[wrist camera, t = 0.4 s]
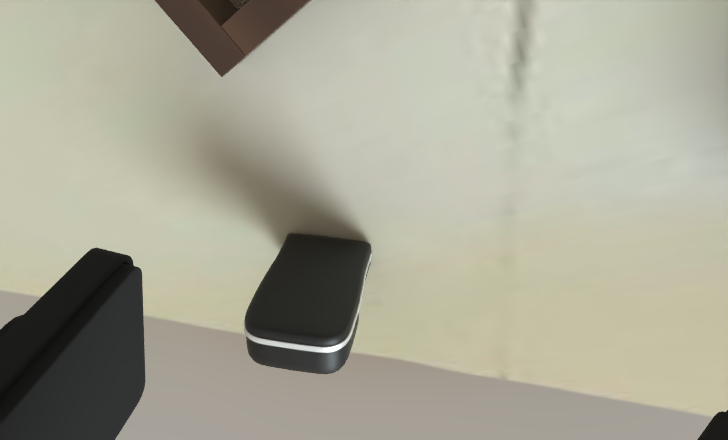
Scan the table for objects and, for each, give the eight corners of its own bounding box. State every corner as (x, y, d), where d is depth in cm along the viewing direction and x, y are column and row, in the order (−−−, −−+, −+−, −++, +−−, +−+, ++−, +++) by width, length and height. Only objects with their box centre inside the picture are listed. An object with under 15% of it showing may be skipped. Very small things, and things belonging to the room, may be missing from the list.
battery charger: (286, 270, 48) (237, 372, 38) (285, 229, 46) (233, 327, 36) (373, 281, 47) (345, 389, 37) (375, 240, 45) (346, 343, 35)
